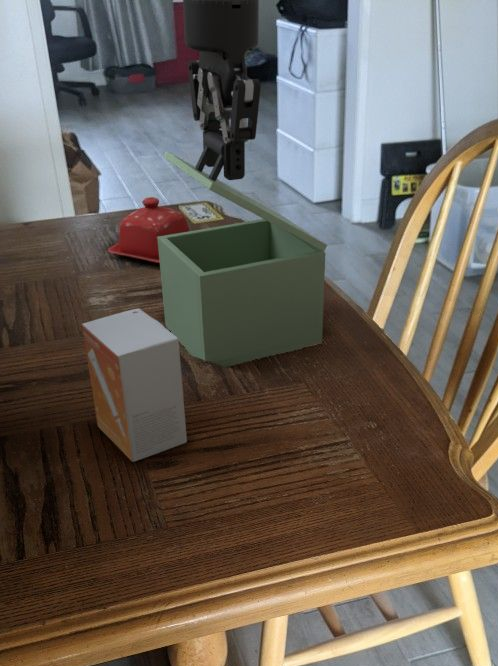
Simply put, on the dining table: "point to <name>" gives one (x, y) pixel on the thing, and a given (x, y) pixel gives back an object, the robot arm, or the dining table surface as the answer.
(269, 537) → the dining table surface
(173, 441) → the small box
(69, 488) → the dining table surface
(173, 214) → the butter dish
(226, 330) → the chest
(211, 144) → the lid
